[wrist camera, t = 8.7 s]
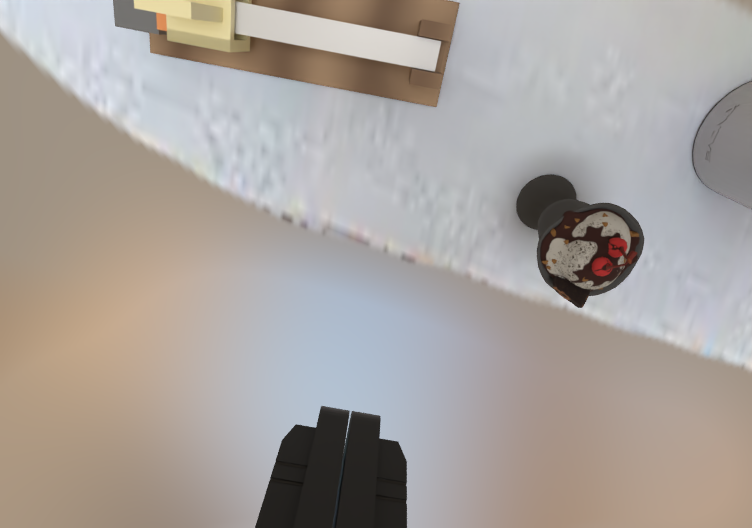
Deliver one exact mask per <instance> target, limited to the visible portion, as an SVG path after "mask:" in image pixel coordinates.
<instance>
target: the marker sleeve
mask: <svg viewBox="0 0 752 528" xmlns="http://www.w3.org/2000/svg"><path fill="white" fill-rule="evenodd" d="M235 1H237V2H242V3H247V4H252V0H134V8H135V9H141V10H146V11H151V12H156V13H161V14H166V23H167V41H173V42H178V43H183V44H188V45H193V46H199V47H204V48H209V49H214V50H220V51H225V52H247V51H250V36H247V35H242V34H236V33H234V26H235Z"/></svg>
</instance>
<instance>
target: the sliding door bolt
mask: <svg viewBox="0 0 752 528" xmlns="http://www.w3.org/2000/svg"><path fill="white" fill-rule="evenodd" d="M113 5H114V17H115V26H117V27H122V28H127V29H133V30H138V31H143V32H148V33H154V34H159V35H167V23H166V14H161V13H156V12H151V11H146V10H141V9H135V8H134V0H113ZM234 33H236V34H242V35H247V36H252V37H257V38H262V39H268V40H273V41H278V42H283V43H288V44H294V45H299V46H304V47H309V48H314V49H320V50H325V51H330V52H335V53H340V54H346V55H351V56H356V57H361V58H366V59H372V60H377V61H382V62H387V63H392V64H398V65H403V66H408V67H413V68H418V69H424V70H429V71H434V72H435V69H436V64H437V59H438V55H439V50H440V45H441V41H438V40H433V39H427V38H422V37H417V36H412V35H407V34H402V33H397V32H391V31H386V30H381V29H376V28H371V27H366V26H360V25H355V24H350V23H345V22H340V21H335V20H330V19H324V18H319V17H314V16H309V15H304V14H299V13H294V12H288V11H283V10H278V9H273V8H268V7H263V6H257V5H252V4H247V3H242V2H237V1H235V26H234Z"/></svg>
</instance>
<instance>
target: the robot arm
mask: <svg viewBox="0 0 752 528" xmlns="http://www.w3.org/2000/svg"><path fill="white" fill-rule="evenodd" d="M693 160H694V167H695V170H696V173H697V175H698V177H699V178H700V179H701V181H702V182H703V183H704V184H705V185H706V186H707V187H709V188H710V189H711V190H713V191H715V192H717V193H719V194H721V195H723V196H725V197H727V198H729V199H731V200H734V201H736V202H738V203H740V204H742V205H744V206H746V207H747V208H749V209H752V81H751V82H749V83H746V84H744V85H742V86H741V87H739V88H737V89H736V90H734V91H733V92H731V93H729V94H728V95H727V96H726V97H725V98H724V99H722V100H721V101H720V102H719V103H718V104H717V105H716V106H715V107H714V109H713V110H712V111H711V112H710V113H709V114H708V116H707V117H706V119H705V121H704V122H703V124H702V126H701V127H700V129H699V132H698V134H697V137H696V140H695V144H694V150H693ZM348 419H349V411H348V410H342V409H336V408H330V407H325V406H322V407H321V409H320V414H319V418H318V422H317V427H316V428H314V427H308V426H302V425H295V426H294V427H293V428H292V429H291V431H290V432H289V433H288V434H287V435H286V436H285V438H284V439H283V440H282V443H281V446H280V449H279V452H278V455H277V458H276V463H275V465H274V469H273V471H272V475H271V479H270V481H269V484H268V488H267V491H266V494H265V498H264V501H263V504H262V507H261V510H260V513H259V517H258V520H257V523H256V526H255V528H407V504H406V500H407V487H406V483H407V471H406V470H407V462H406V459H405V457H404V454H403V452H402V450H401V447H400V445H399V443H398V442H397V441H391V440H385V439H379V434H380V416H378V415H372V414H366V413H360V412H354V411H352V413H351V418H350V423H349V428H348V433H347V438H346V432H347V426H348ZM345 439H346V443H345ZM344 446H345V448H344ZM343 452H344V453H343Z"/></svg>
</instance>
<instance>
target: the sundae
mask: <svg viewBox="0 0 752 528" xmlns="http://www.w3.org/2000/svg"><path fill="white" fill-rule="evenodd" d="M517 213H518V216H519V218H520V220H521V221H522V222H523V223H524V224H525V225H527V226H528V227H530V228H533V229H536V230H538V235H539V242H538V247H537V261H538V267H539V270H540V273H541V275H542V277H543V279H544V280H545V282H546V283H547V284H548V285H549V286H550V287H552V288H553V289H554V290H555V291H556V292H558V293H559V294H560V295H561V296H562V297H564V298H565V299H567V300H568V301H570V302H572V303H573V304H574V305H575V306H577V307H578V308H582V307H583V306H584V304H585V302H586V300H587V298H588V296H594V295H599V294H602V293H605V292H607V291H609V290H611V289H613V288H615V287H617V286H618V285H619V284H620V283H621V282H623V281H624V280H625V278H626V277H627V276H628V275H629V274H630V272H631V271H632V269H633V268H634V266H635V265H636V263H637V261H638V259H639V258H640V256H641V254H642V250H643V246H644V236H643V232H642V229H641V227H640V225H639V223H638V221H637V220H636V219H635V218H634V217H633V216H632V215H631V214H630V213H629V212H628V211H626V210H625V209H623V208H621V207H619V206H617V205H614V204H611V203H598V204H592V205H589V204H587V203H584V202H581V201H578V200H576V192H575V189H574V187H573V185H572V184H571V183H570V182H569V181H568V180H566V179H565V178H563V177H561V176H557V175H544V176H540V177H538V178H535V179H534V180H532V181H530V182H529V183H528V184H527V185H526V186H525V187H524V188H523V189H522V190H521V192H520V194H519V197H518V199H517Z"/></svg>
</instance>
